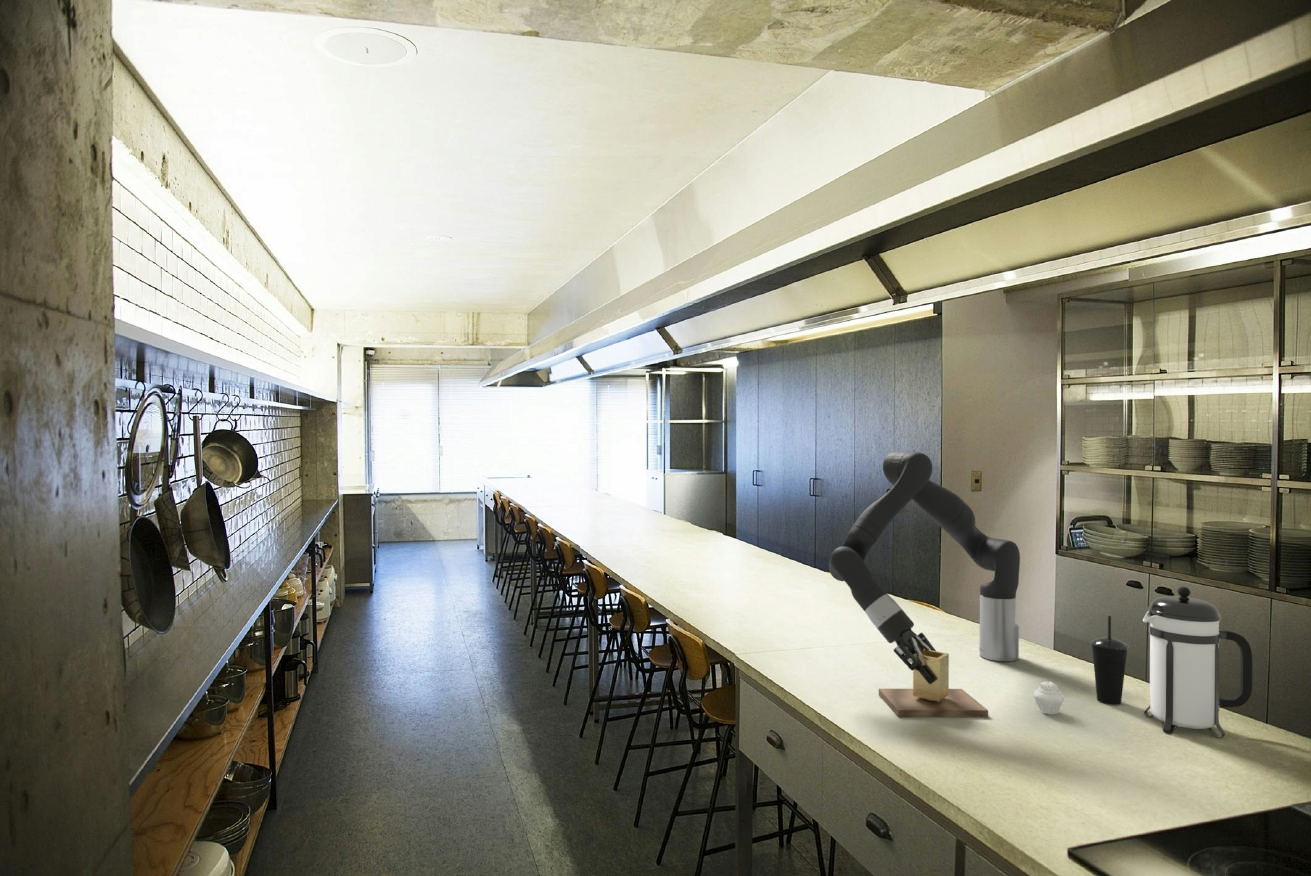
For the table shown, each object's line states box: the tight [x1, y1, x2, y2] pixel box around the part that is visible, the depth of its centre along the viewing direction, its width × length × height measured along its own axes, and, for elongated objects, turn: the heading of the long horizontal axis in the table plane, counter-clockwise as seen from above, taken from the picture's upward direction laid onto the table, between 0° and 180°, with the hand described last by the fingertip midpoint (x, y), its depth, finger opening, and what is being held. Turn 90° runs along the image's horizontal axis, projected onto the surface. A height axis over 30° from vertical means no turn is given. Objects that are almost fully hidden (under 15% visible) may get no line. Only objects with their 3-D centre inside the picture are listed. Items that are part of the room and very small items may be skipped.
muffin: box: [1032, 680, 1065, 716], centre depth 168 cm, size 6×6×7 cm
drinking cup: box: [1090, 615, 1130, 706], centre depth 175 cm, size 8×8×20 cm
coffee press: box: [1142, 586, 1253, 739], centre depth 160 cm, size 17×16×30 cm
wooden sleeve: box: [912, 649, 950, 702], centre depth 172 cm, size 6×6×10 cm
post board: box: [878, 688, 989, 718], centre depth 172 cm, size 20×14×7 cm
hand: (938, 678), depth 171 cm, fingers closed on wooden sleeve, 6 cm apart
